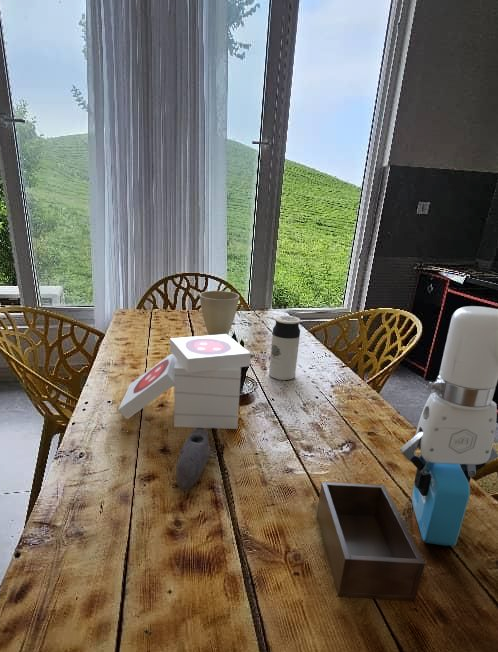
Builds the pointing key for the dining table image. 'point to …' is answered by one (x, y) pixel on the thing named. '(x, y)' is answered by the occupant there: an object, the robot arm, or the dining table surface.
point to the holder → (368, 543)
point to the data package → (442, 504)
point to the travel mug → (284, 347)
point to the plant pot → (218, 310)
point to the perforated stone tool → (192, 459)
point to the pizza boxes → (194, 382)
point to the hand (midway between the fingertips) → (439, 490)
